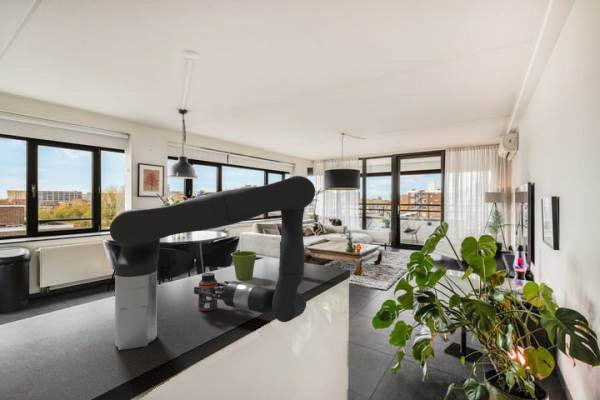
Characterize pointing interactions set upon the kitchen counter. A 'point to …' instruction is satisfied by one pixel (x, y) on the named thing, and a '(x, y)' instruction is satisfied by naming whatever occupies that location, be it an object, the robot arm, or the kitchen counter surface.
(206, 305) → the supplement bottle
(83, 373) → the kitchen counter surface
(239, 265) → the plant pot
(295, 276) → the robot arm
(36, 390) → the kitchen counter surface
